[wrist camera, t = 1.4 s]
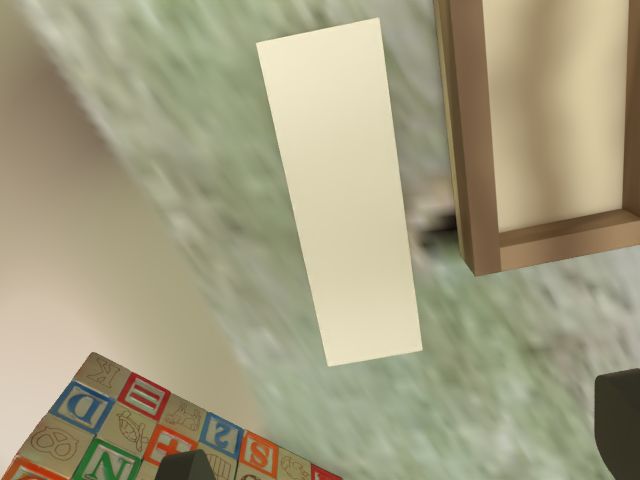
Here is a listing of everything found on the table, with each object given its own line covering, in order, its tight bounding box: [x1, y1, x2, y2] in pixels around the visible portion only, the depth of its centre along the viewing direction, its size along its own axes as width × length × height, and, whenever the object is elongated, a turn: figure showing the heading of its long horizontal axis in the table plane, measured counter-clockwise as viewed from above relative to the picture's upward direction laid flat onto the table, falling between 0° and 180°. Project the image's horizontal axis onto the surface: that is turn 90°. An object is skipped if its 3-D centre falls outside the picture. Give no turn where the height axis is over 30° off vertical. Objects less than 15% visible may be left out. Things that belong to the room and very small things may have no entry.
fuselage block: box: [256, 17, 422, 367], centre depth 25 cm, size 5×16×7 cm, turn 11°
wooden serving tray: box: [433, 0, 640, 277], centre depth 24 cm, size 11×23×3 cm, turn 12°
